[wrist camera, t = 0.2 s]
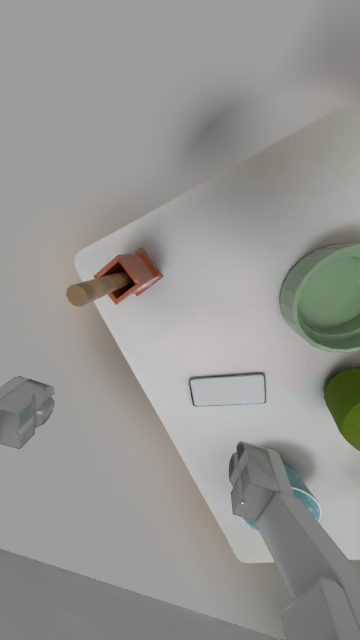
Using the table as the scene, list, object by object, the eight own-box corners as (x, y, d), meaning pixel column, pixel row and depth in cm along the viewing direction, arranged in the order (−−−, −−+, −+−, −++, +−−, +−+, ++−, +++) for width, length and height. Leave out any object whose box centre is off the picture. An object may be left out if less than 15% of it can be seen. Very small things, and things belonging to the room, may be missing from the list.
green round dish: (358, 222, 29) (394, 216, 24) (396, 305, 32) (435, 318, 27) (262, 282, 34) (273, 288, 28) (303, 350, 37) (320, 368, 31)
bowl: (267, 436, 44) (280, 475, 37) (318, 472, 46) (341, 517, 39) (220, 469, 50) (223, 510, 42) (267, 501, 52) (278, 546, 44)
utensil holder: (141, 247, 34) (118, 247, 25) (162, 276, 36) (148, 286, 27) (116, 268, 36) (87, 275, 27) (137, 295, 37) (115, 310, 28)
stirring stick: (139, 264, 35) (76, 280, 18) (146, 274, 35) (91, 298, 18) (130, 271, 35) (61, 293, 18) (138, 281, 36) (76, 310, 19)
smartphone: (188, 379, 41) (264, 374, 39) (188, 378, 42) (264, 372, 39) (193, 406, 43) (266, 403, 41) (193, 405, 44) (265, 401, 41)
